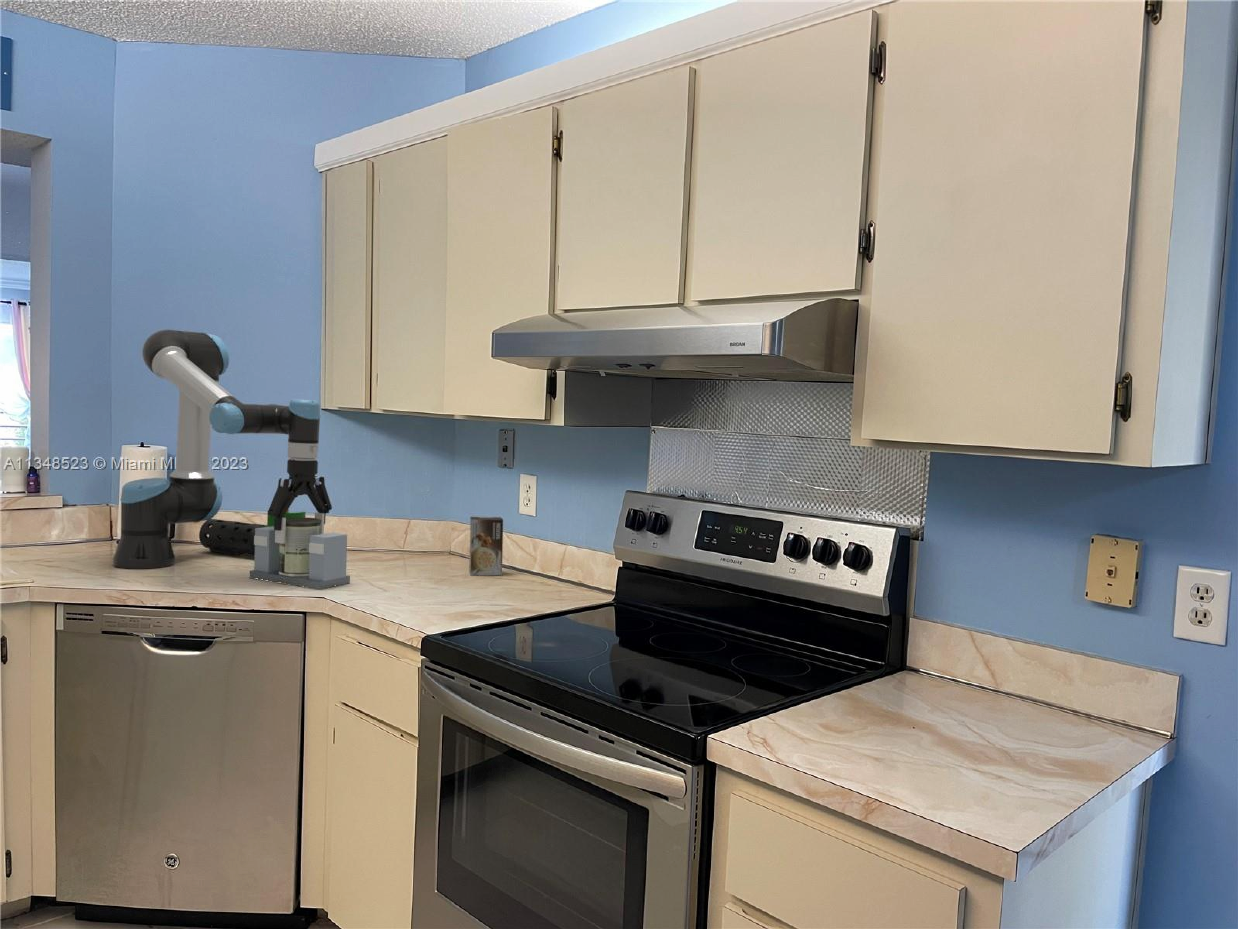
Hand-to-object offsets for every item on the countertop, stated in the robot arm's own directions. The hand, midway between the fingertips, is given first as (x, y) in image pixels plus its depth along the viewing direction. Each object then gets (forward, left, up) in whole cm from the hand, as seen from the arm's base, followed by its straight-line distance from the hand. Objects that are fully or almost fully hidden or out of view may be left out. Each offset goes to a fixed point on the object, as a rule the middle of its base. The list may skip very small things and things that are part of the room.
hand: (299, 540), depth 244 cm
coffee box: (+31, +40, -11) cm, 52 cm away
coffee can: (0, 0, -9) cm, 9 cm away
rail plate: (0, 0, -11) cm, 11 cm away
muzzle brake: (-39, +18, -11) cm, 44 cm away
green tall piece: (-18, +12, -11) cm, 24 cm away
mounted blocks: (0, 0, -9) cm, 9 cm away
